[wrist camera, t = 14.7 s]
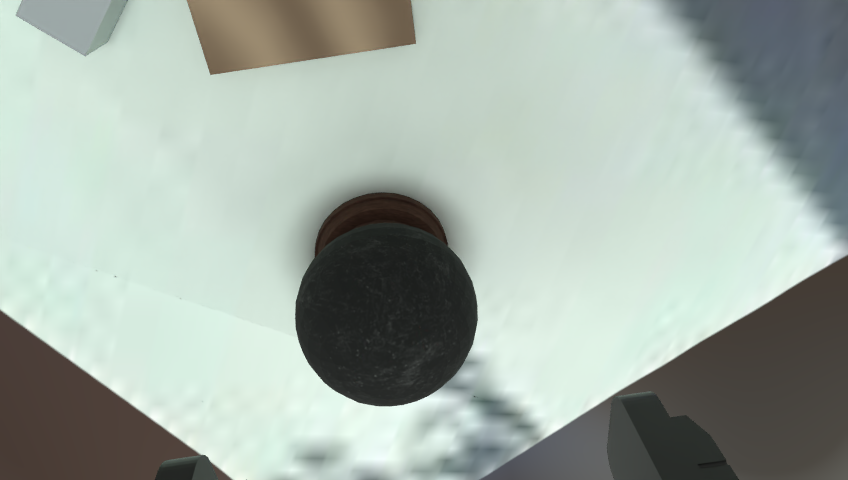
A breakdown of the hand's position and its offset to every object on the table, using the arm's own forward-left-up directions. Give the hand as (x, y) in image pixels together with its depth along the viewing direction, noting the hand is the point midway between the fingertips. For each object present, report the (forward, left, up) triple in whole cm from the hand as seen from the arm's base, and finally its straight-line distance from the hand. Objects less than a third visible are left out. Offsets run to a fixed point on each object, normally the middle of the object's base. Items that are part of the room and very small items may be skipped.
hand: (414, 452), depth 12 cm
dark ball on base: (+2, +17, -35) cm, 38 cm away
